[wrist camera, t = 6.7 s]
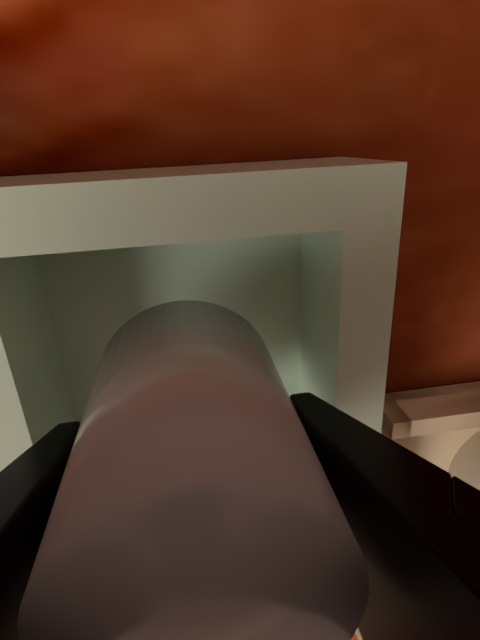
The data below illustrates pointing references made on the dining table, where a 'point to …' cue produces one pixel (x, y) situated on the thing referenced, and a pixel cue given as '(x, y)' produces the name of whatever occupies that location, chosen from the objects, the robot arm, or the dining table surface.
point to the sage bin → (198, 274)
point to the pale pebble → (468, 462)
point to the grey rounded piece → (193, 500)
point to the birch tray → (432, 421)
